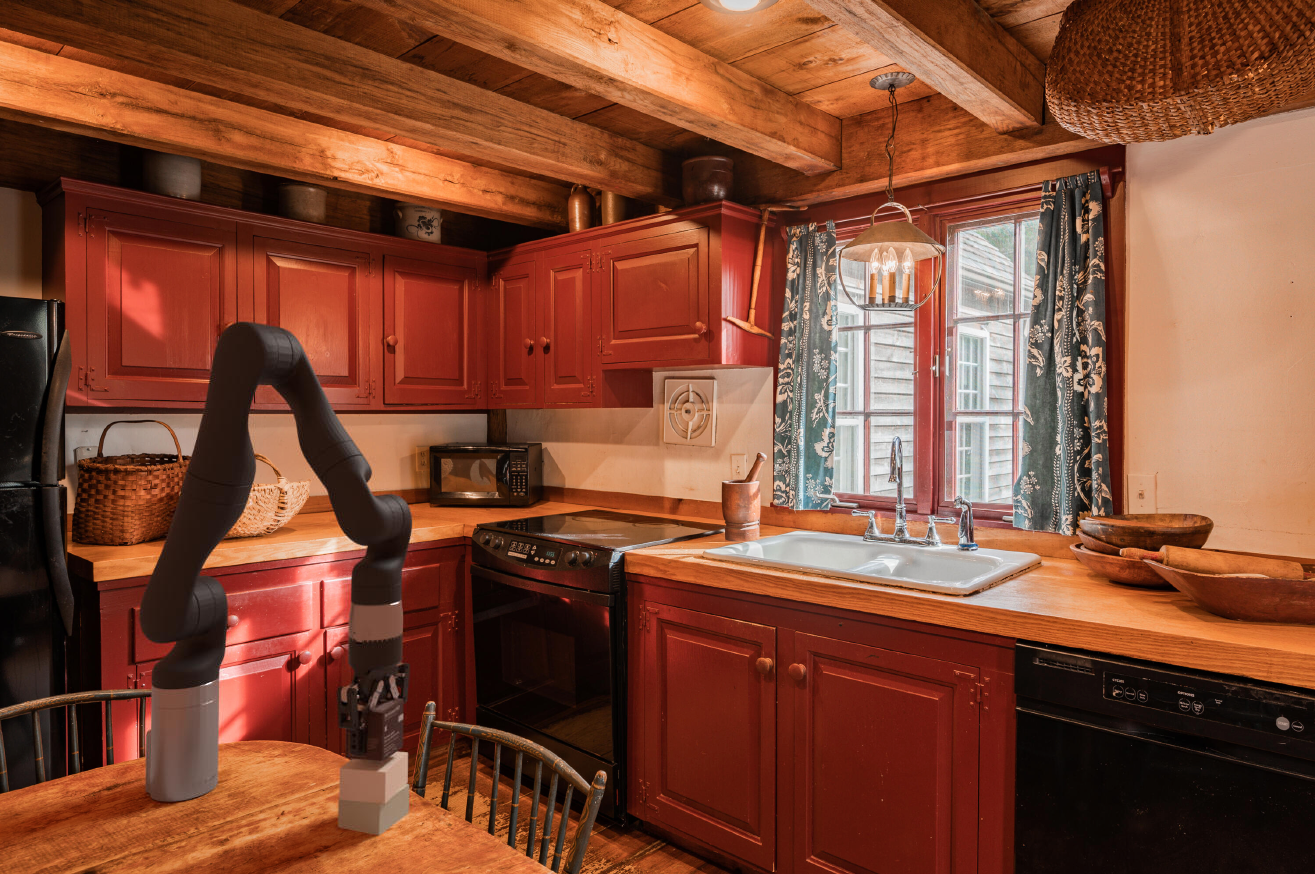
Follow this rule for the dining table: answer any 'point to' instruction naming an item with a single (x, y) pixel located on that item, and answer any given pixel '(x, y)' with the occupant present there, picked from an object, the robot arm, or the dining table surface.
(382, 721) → the box
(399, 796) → the tower base
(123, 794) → the dining table surface
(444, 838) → the dining table surface
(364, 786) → the tower top
